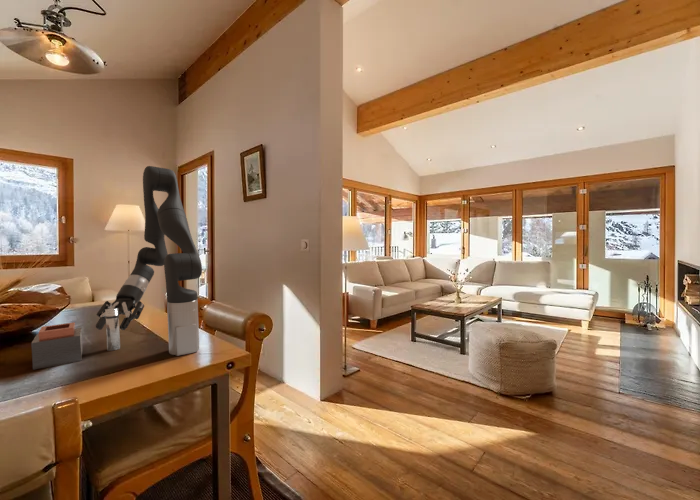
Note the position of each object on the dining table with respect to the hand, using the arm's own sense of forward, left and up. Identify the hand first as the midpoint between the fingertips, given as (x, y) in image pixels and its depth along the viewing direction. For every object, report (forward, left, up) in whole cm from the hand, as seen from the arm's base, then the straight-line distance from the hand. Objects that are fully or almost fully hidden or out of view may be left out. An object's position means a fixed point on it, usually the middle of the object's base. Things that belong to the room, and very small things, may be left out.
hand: (110, 328), depth 111 cm
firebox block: (0, +13, -7) cm, 15 cm away
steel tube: (+1, -1, -7) cm, 8 cm away
